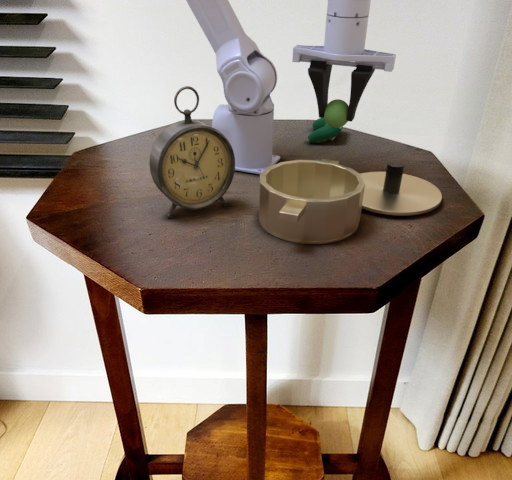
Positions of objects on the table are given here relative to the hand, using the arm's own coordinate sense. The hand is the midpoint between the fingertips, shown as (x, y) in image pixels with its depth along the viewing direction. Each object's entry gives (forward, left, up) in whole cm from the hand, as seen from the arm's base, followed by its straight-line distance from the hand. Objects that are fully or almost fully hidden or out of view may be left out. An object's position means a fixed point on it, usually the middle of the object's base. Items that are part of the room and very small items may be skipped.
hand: (336, 117), depth 83 cm
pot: (+2, -18, -9) cm, 20 cm away
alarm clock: (-14, -21, -9) cm, 27 cm away
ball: (0, 0, +1) cm, 1 cm away
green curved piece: (-5, +16, -9) cm, 19 cm away
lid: (+11, -6, -8) cm, 15 cm away
